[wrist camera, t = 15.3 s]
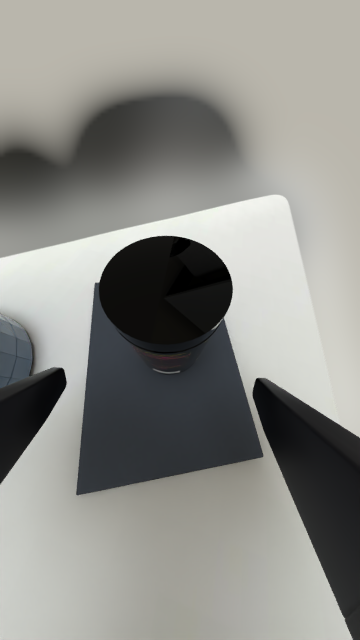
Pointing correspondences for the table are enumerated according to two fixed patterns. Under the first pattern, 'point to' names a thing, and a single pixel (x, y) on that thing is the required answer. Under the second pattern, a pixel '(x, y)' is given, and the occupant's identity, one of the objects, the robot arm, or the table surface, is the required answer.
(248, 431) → the placemat
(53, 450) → the table surface
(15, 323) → the bowl
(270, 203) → the table surface
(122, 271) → the supplement container
